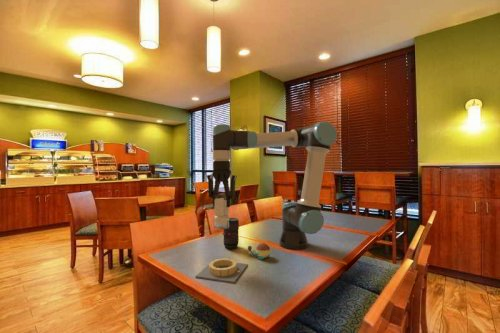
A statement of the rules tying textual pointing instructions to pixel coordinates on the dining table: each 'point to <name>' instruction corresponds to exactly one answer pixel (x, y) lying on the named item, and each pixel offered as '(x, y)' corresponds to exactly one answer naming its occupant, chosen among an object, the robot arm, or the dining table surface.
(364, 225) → the dining table surface
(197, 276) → the mount
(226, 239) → the camera lens
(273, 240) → the dining table surface
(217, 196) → the white pillar stand
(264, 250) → the figurine
